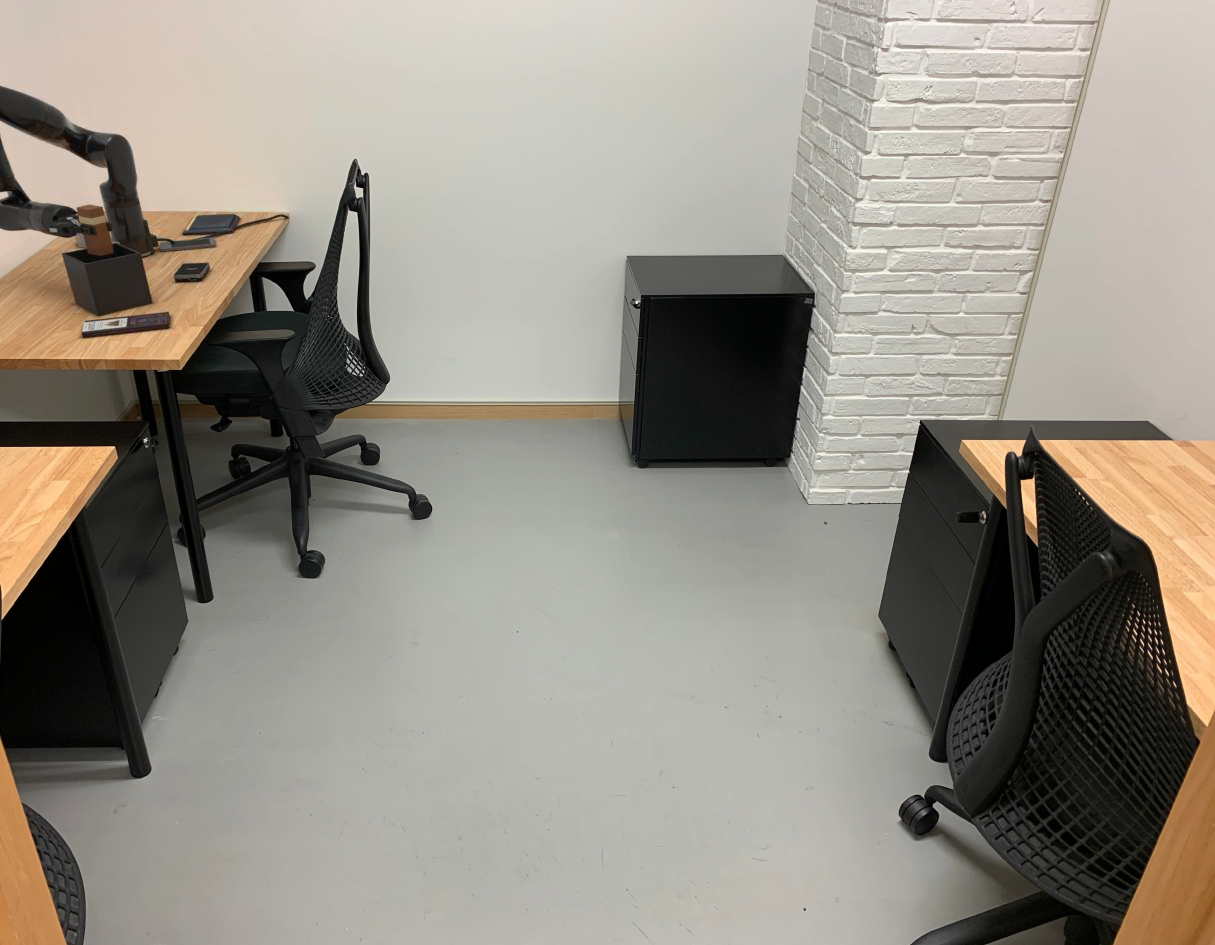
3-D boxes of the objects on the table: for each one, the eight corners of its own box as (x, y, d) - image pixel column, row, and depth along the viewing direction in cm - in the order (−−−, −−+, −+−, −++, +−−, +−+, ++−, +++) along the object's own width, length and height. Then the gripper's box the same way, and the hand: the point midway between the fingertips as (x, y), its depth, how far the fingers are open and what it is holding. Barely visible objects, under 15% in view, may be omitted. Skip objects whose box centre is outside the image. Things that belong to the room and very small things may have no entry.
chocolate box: (87, 253, 222) (75, 207, 217) (101, 250, 225) (89, 204, 220) (100, 256, 220) (89, 209, 215) (114, 252, 223) (102, 206, 218)
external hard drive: (174, 282, 244) (172, 275, 243) (184, 270, 253) (182, 263, 252) (202, 281, 245) (200, 274, 244) (211, 269, 254) (209, 262, 253)
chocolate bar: (168, 324, 214) (81, 333, 208) (169, 327, 214) (82, 337, 208) (168, 311, 221) (84, 320, 215) (169, 315, 221) (85, 324, 215)
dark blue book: (231, 227, 286) (179, 229, 283) (232, 233, 286) (180, 235, 284) (240, 212, 303) (191, 213, 300) (242, 217, 304) (193, 219, 301)
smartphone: (214, 239, 280) (213, 237, 280) (215, 246, 273) (215, 244, 273) (160, 244, 275) (159, 242, 274) (160, 251, 268) (160, 249, 268)
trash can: (129, 291, 237) (117, 242, 231) (152, 303, 229) (140, 253, 223) (75, 303, 228) (61, 253, 222) (98, 316, 221) (84, 264, 215)
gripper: (84, 229, 233) (132, 238, 226) (32, 242, 222) (79, 252, 215) (77, 198, 229) (124, 207, 222) (22, 210, 218) (71, 219, 211)
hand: (102, 229), depth 219 cm, fingers closed on chocolate box, 3 cm apart
